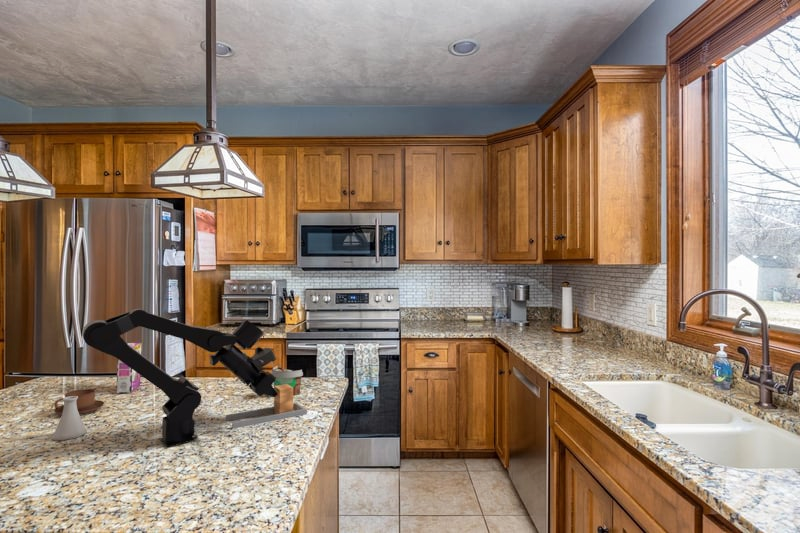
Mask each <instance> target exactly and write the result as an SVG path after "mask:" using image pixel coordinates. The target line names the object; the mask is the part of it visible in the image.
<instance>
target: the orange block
mask: <svg viewBox="0 0 800 533" xmlns="http://www.w3.org/2000/svg"><path fill="white" fill-rule="evenodd" d="M273 388H274V389H275V391H276V392H277V396H276V397H273V407H274V412H273V413H274V415H275V414H280V413H286V412H291V411H294V409H293V403H294V396H293V387H291V386H290V385H288V384H284V385H278V386H274V385H273Z"/></svg>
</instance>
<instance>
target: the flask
mask: <svg viewBox="0 0 800 533" xmlns="http://www.w3.org/2000/svg"><path fill="white" fill-rule="evenodd" d="M62 398H63V400H62V402H63V405H64V408H63V413H62V415H60V419H59V421H58V424H57V426H56V429H55V430H54V433H53V435H52V437H51V440H53V441H65V440H71V439H77V438H79V437H81V436H83V435H85V434H86V433H87V429H86V426H85V423H84V422H83V420H82V417H81V415H79V412H78V409H77V404H76V400H77V398H78V396H69V397H65V396H64V397H62Z"/></svg>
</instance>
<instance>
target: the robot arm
mask: <svg viewBox="0 0 800 533" xmlns="http://www.w3.org/2000/svg"><path fill="white" fill-rule="evenodd" d="M138 327H142V328H145V329H149V330H150V331H151V330H152V331H154V332H158V333H161V334H165V335H169V336H172V337H175V338H178V339H182V340H186V341H187V342H189V343H191V344H194V345H196V346H197V347H199V348H201V349H204V350H205V351H207V352H210V353H214V354H209V364H210V365H211V366H213V367H214V366H216V365H217V364H218V363H220V364H221V365H223V366H224V367H225V368H226V369H227V370H228V371H230V372H231V373H232V374H234V375H235V377H237V379H238V381H240V382H241V383H242V384H244V385H246V386H248V388H249V389H250V390H251V391H252V392H253V393H255V394H256V395H257V396H259V397H262V396H263V395H265V396H270V397H273V398H274V397H276V396H277V392H276V391H275V389H274V386H273V385H274V381H275V380H276V377H275V376H273V375H272V374H271V373H272V372H269V371H265V368H264V367H266V366H267V365H269V364H270V363H272V362H275V361H276V360H277V357H276V355H275V353H274V351H273V349H272V348H270V347H264V348H262V347H261V346H258V347H256V348H255V349H254V354H253V355H252V356H249V355H248V354H247V355H246V354H245V353H244V352H243V351H244V350H246V349H247V350H251V349H252V348H253V346H254V345H255V344H256V343H257V342H258V341H259V340H260V339H261V338H262V336H264V331H262V330H261V328H259V327H258V326H257V325H255V324H253V323H251V321H249V320H248V319H243V321H242V322H241V323H240V324H239V325H238V327H237V328H236V329H235V330H234V331H233V332H232V333H229V332H221V330H218V329H215V328H210V327H202V326H195V325H188V324H185V323H183V322H182V323H181V322H180V321H176V320H173V319H169V318H166V317H163V316H161V315H157V314H154V313H151V312H148V311H145V310H143V309H141V308H134V309H132V310H131V311H127V312H125V313H122V314H118V315H116V316H113V317H111V318H108V319H94V320H92V321H89V322H87V323H86V324H85V326H84V327H83V329H82V333H81V334H82V338H83V341H84V343H86V345H87V346H89V347H91V348H94V349H95V350H98V351H100V352H102V353H103V354H106V355H109V356H111V357H114V358H116V359H117V360H118V359H119V360H120V361H122V362H123V363H124V364H126V365H127V366H129V367H130V368H131V369H133V370H134V371H136V372H137V373H138V374H140V377H142V378H144V379H146V380H147V382H150V383H151V384H152V385H154V386H155V387H156V388H158V389H159V390H161V391H162V392H163V393H164V394H165V395H166V397H168V400H166V402H165V403H164V404H163V405H162V406H161V409H162V411H163V413H164V415H165V416H163V417H162V424H161V427H162V428H161V431H162V432H161V437H159V441H160V442H161V443H162V444H163V445H164V446H165V447H166V448H170V447H174V446H177V445H182V444H185V443H189V442H193V441H195V440H196V439H195V437H194V436H195V425H196V423H195V419H194V417H193V416H194V413H195V410H196V409H198V407H199V406H200V404H201V402H202V394H201V393H200V392H199V391H198V390H200V388H199V387H198V386H197V385H195V383H193V382H190V381H189V380H188V379H187V378H186V377H184V375H180V376H179V377H178V378H175V377H173V376H171V375H170V374H169V373H167V372H166V371H164V370H163V369H162V368H160V367H159V366H157V365H156V364H155V363H154V362H153V361H151V360H150V359H148V358H147V357H145V356H144V355H143V354H142V353H141V354H140V353H139V352H137V351H136V350H135V349H133V348H132V347H131V346H129V345H128V344H127V342H126V341H125V340H124V339H123V337H122V335H124V334H126V333H128V332H130V331H132V330H134V329H137V328H138ZM236 345H237V346H238V347H237V346H236ZM240 348H241V349H240ZM242 350H243V351H242Z"/></svg>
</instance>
